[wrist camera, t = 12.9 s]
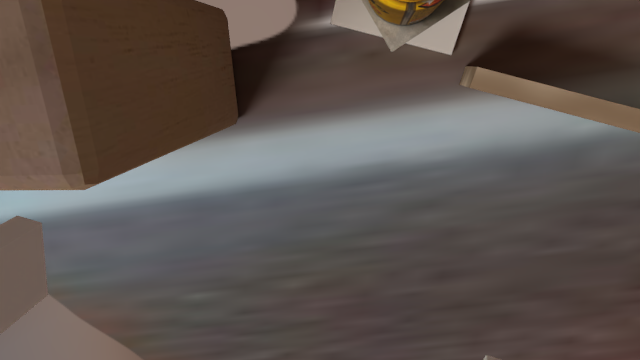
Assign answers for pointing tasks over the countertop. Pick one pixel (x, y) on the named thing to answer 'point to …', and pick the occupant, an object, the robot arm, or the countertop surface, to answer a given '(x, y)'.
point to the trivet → (434, 38)
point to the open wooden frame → (552, 98)
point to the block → (107, 86)
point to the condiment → (408, 17)
